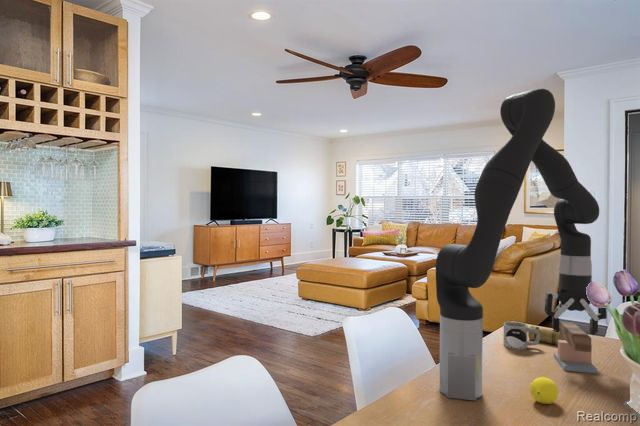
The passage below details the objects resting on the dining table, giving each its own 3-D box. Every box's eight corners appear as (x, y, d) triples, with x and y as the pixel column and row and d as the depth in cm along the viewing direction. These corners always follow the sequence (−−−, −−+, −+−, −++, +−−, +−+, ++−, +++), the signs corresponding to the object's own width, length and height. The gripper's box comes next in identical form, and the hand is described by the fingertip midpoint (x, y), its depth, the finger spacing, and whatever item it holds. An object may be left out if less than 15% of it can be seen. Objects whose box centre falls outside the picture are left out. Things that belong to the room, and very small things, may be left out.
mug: (504, 348, 133) (504, 326, 133) (502, 342, 140) (502, 321, 140) (541, 351, 131) (541, 329, 130) (537, 345, 137) (537, 323, 137)
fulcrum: (596, 373, 113) (597, 349, 113) (564, 370, 115) (564, 347, 115) (583, 359, 124) (583, 337, 124) (553, 356, 126) (554, 335, 126)
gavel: (552, 320, 156) (584, 325, 149) (552, 333, 156) (584, 339, 149) (528, 326, 142) (562, 333, 135) (527, 341, 142) (561, 348, 135)
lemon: (535, 397, 100) (537, 372, 101) (562, 404, 96) (563, 379, 97) (523, 402, 95) (525, 376, 96) (551, 410, 91) (552, 383, 92)
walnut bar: (591, 352, 111) (591, 338, 111) (575, 350, 112) (575, 336, 112) (573, 334, 127) (573, 322, 127) (559, 333, 128) (559, 321, 128)
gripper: (549, 273, 118) (548, 334, 118) (610, 275, 114) (609, 339, 114) (542, 269, 125) (542, 327, 125) (600, 271, 121) (599, 331, 121)
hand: (574, 332), depth 120 cm, fingers open, 8 cm apart
